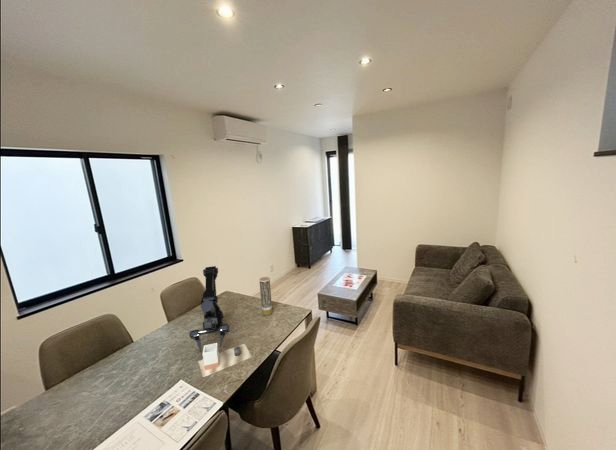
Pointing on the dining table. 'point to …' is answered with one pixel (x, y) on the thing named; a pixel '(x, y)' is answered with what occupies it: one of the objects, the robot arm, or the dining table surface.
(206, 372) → the pin board
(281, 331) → the dining table surface
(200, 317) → the dining table surface
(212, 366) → the sleeve
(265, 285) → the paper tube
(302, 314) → the dining table surface
